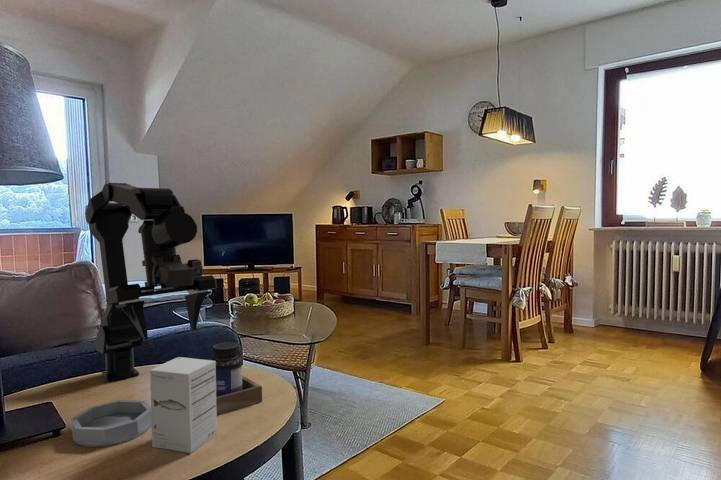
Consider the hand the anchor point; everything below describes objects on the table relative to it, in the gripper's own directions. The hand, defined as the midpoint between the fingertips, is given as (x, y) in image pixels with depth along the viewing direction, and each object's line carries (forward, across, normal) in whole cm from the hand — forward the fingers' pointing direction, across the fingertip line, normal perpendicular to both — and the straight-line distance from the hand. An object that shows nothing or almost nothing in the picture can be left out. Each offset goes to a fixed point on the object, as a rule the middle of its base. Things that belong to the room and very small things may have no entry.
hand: (170, 334), depth 89 cm
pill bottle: (+15, +9, -2) cm, 17 cm away
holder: (+15, +9, -2) cm, 17 cm away
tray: (+14, -11, +2) cm, 18 cm away
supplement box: (+17, -4, -11) cm, 21 cm away
